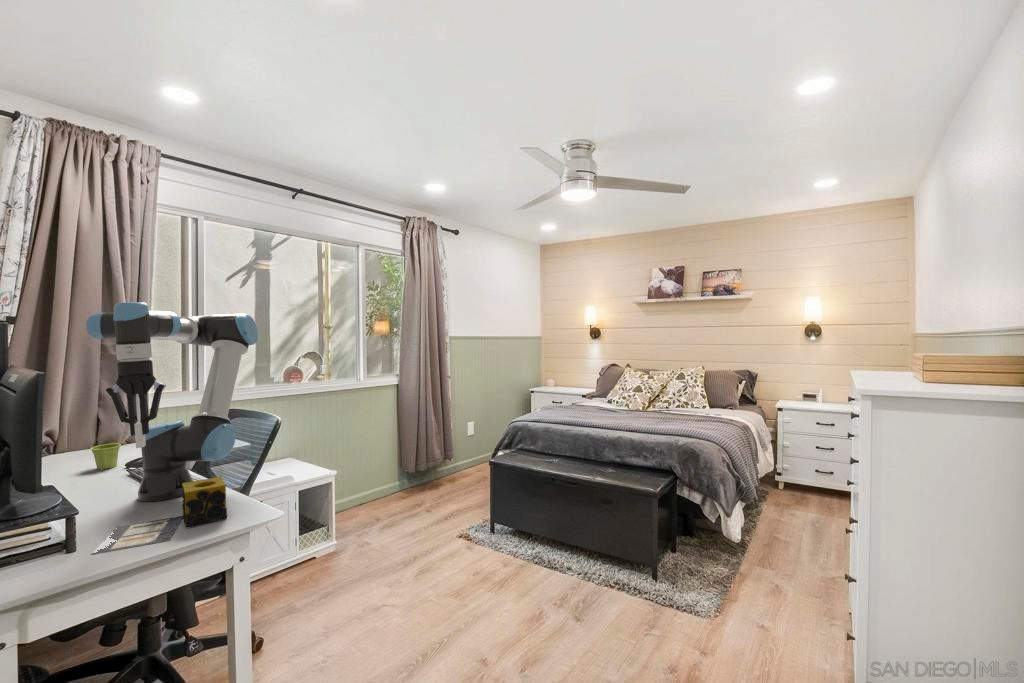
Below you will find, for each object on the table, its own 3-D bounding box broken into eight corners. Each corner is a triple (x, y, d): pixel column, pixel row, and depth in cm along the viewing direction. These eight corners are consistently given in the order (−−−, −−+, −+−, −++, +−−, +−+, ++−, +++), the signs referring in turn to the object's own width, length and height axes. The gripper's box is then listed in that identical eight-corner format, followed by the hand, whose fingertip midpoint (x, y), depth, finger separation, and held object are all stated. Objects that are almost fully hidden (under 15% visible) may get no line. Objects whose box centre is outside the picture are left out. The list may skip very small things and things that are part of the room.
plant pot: (128, 463, 200) (126, 442, 199) (110, 470, 190) (109, 448, 190) (104, 464, 199) (102, 443, 199) (85, 471, 190) (83, 449, 189)
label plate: (116, 526, 134) (116, 526, 134) (185, 515, 140) (185, 515, 140) (90, 554, 117) (90, 554, 117) (169, 540, 124) (169, 540, 124)
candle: (182, 517, 138) (180, 483, 138) (223, 508, 144) (221, 475, 144) (184, 529, 130) (182, 492, 130) (227, 519, 136) (226, 484, 136)
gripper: (99, 362, 125) (105, 453, 126) (160, 359, 130) (166, 446, 131) (109, 360, 131) (116, 446, 132) (167, 357, 137) (173, 440, 138)
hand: (140, 446), depth 132 cm, fingers closed
